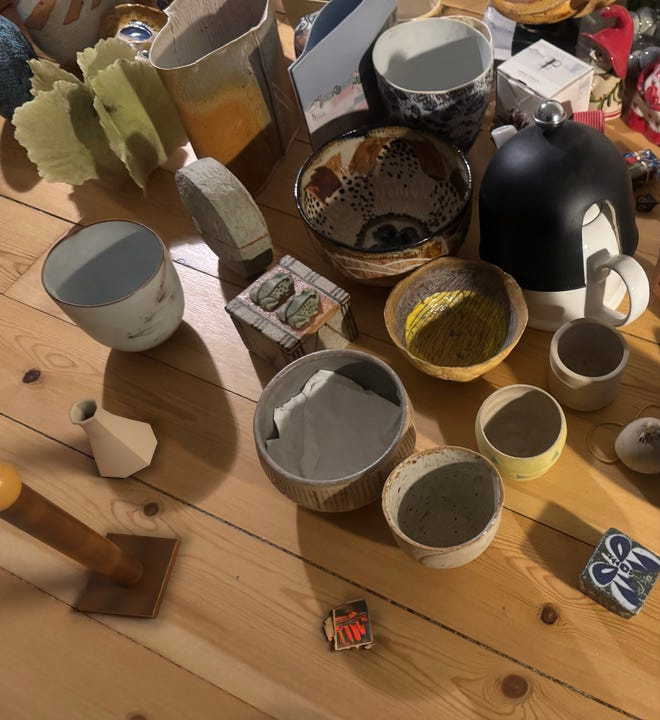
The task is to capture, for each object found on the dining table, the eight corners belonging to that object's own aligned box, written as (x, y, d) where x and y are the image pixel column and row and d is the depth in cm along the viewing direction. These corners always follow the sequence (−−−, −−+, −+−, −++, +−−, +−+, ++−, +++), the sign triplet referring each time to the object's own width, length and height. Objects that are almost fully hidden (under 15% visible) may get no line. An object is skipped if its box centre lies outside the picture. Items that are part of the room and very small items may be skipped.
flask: (158, 471, 81) (118, 432, 73) (93, 486, 81) (45, 448, 72) (158, 416, 85) (119, 373, 77) (96, 430, 84) (50, 389, 76)
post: (82, 610, 73) (-105, 524, 51) (111, 535, 78) (-50, 425, 55) (156, 618, 73) (0, 533, 50) (181, 541, 77) (47, 432, 54)
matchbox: (363, 594, 73) (362, 593, 73) (381, 641, 71) (381, 640, 70) (320, 615, 72) (319, 614, 72) (337, 664, 70) (336, 663, 69)
